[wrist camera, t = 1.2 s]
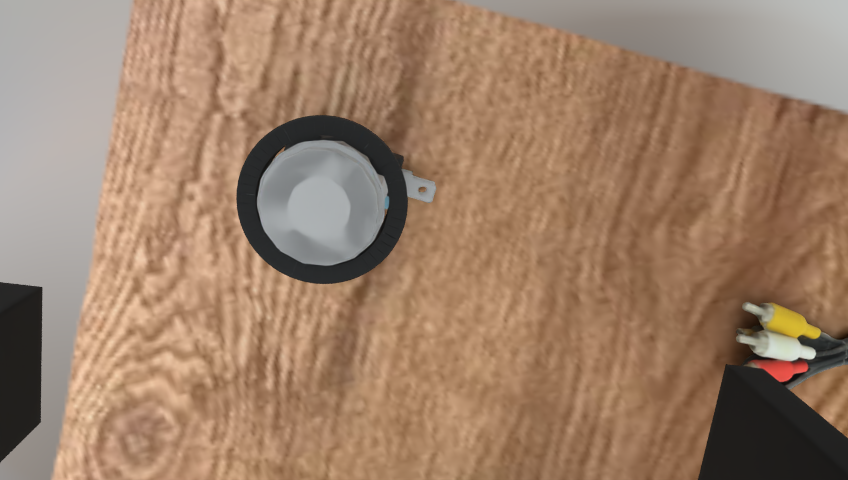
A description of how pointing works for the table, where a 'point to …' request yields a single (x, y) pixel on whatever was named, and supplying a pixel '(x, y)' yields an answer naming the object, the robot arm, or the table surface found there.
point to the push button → (325, 199)
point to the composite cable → (789, 345)
